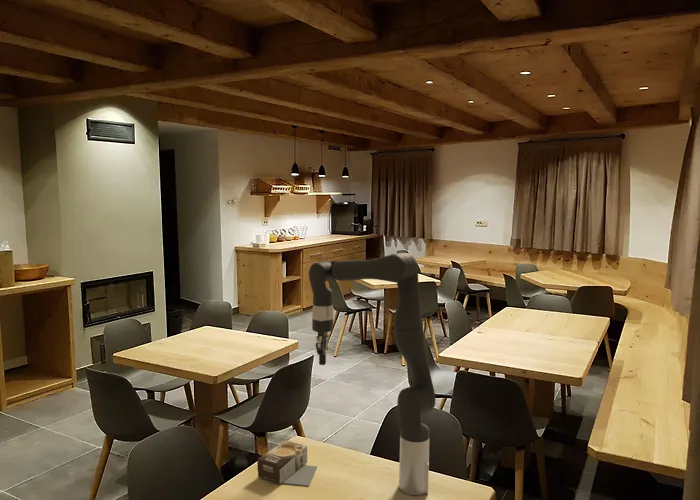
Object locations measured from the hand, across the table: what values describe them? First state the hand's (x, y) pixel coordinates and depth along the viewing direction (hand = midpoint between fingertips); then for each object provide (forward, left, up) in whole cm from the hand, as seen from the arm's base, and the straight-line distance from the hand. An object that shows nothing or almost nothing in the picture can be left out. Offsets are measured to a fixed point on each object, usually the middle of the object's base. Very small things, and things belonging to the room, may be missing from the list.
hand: (322, 364), depth 188 cm
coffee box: (+7, +10, -28) cm, 31 cm away
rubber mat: (+6, +19, -32) cm, 38 cm away
